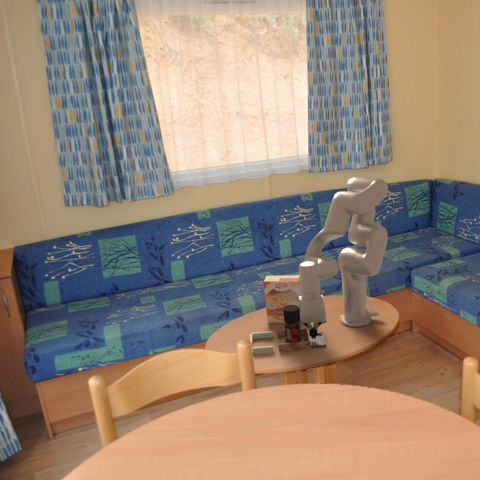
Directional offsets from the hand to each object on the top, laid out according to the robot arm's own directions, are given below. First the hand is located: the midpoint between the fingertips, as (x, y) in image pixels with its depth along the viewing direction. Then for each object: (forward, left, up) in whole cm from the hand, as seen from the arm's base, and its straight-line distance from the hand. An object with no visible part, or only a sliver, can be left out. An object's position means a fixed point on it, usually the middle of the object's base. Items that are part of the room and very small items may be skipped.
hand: (313, 337), depth 180 cm
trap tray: (-1, 0, -2) cm, 2 cm away
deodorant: (+8, 0, -2) cm, 8 cm away
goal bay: (+20, 0, -2) cm, 20 cm away
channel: (+8, 0, -2) cm, 8 cm away
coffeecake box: (+10, -21, -2) cm, 23 cm away
